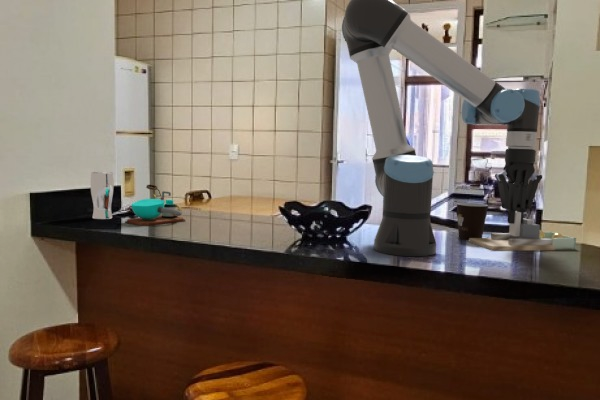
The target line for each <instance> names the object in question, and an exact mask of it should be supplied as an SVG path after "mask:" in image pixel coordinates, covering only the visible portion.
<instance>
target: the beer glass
mask: <svg viewBox="0 0 600 400" xmlns="http://www.w3.org/2000/svg"><path fill="white" fill-rule="evenodd" d="M113 174H114V173H113V172H112V171H94V172H93V171H91V172H90V195H91V199H92V204H93V205H92V206H93V211H92V212H93V213H92V219H94V220H110V219H112V218H113V213H112V202H113V195H114V188H115V187H114V175H113Z"/></svg>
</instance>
